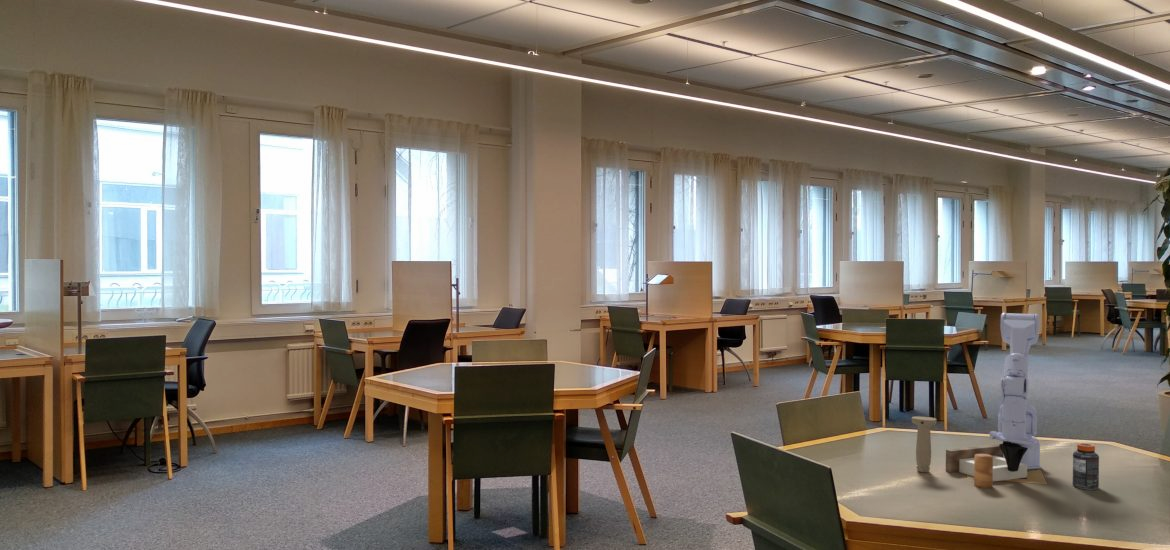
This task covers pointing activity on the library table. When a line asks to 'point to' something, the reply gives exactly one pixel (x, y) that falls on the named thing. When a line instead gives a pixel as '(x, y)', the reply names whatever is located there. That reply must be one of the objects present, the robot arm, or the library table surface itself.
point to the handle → (923, 442)
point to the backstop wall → (968, 455)
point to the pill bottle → (1085, 467)
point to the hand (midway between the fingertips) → (1013, 470)
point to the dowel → (983, 471)
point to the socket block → (994, 469)
